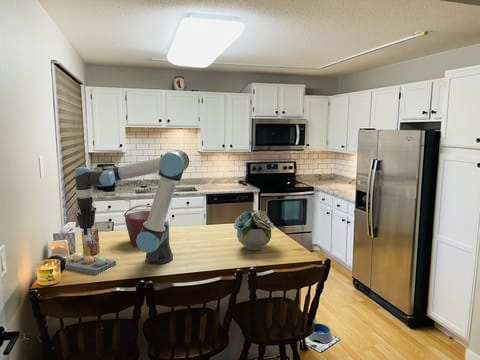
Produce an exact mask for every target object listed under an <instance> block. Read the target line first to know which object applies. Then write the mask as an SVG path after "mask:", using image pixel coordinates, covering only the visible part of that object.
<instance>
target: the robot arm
mask: <svg viewBox="0 0 480 360" xmlns="http://www.w3.org/2000/svg"><path fill="white" fill-rule="evenodd" d="M189 165H190V158H189V155H188V154H187V153H186V152H185V151H183V150H179V149H177V150H172V151H168V152H166V153H164V154H163V155H162V156H161V157H157V158H152V159H148V160H143V161H139V162H133V163H130V164H125V165H121V166H115V167H111V168H109V169H104V170H100V171H95V170H94V171H92V170H91V168H90V167H87V166H83V167H82V166H80V167H76V168H75V169H74V180H75V193H76V204H77V209H78V210H77V211H75V212H74V215H75V217H76V220H77V223H78V227H79V229H82V231H84V235H85V241H90V240H91V228H93V227H94V226H95V217H96V211H97V207H95V206H93V204H94V203H93V201H94V199H93V189H92V188H93V187H95V186H98V187H110V186H114V184H115V182H118V181H124V180H128V179H132V178H133V179H134V178H138V177H143V176H147V175H152V174H156V173H158V174H157V175H158V176H159V181H158V184H157V188H156V191H155V194H154V197H153V200H152V204H151V205H152V207H150V210H149V211H150V214H149V217H148V220H147V221H146V222H144V223H143V226H142V230H141V233H140V234H139V235H138V236H137V239H136V244H137V246H138V247H137V246H136V247H137V248H138V249H139V250H140V251H142V252H143V253H146V254H145V262H146V263H147V264H152V265H164V264H168V263H169V262H171V261H173V259H174V254H173V252H172V249H171V246H170V223H169V220H168V219H166V218H167V217H168V212H169V209H170V207H171V206H170V205H171V202H172V199H173V196H174V193H175V189H176V186H177V183H178V182H181V181H182V177H183V174H184V171H186V169H187V168H188V167H189Z"/></svg>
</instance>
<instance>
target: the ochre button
mask: <svg viewBox="0 0 480 360" xmlns="http://www.w3.org/2000/svg"><path fill="white" fill-rule="evenodd" d="M71 255H72V259H73V262H76V263H78V262H80V261H83V256H82V255H83V251H76V252H73V253H72V254H71Z"/></svg>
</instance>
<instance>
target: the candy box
mask: <svg viewBox="0 0 480 360" xmlns="http://www.w3.org/2000/svg"><path fill="white" fill-rule="evenodd" d="M81 240H82V241H81V243H82V250H83V251H82V255H87V256H93V257H94V256H95V255H98V254H100V253H101V250H100V249H101V248H100V238H99V228H98V227H92V228H91V240H90V241H85V235H84V231H83V230H82V231H81Z"/></svg>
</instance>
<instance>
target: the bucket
mask: <svg viewBox="0 0 480 360" xmlns="http://www.w3.org/2000/svg"><path fill="white" fill-rule="evenodd" d="M141 207H142V208H143V207H148V208H151V207H152V204H138V205H135V206H133V207H131V208H129V209H127V210H126V211H125V212H124V214H123V217H125V218H124V219H125V220H124V222H125V226H126V229H127V233H128V236H129V242H130V245H131V246H133V247H137V248H139V247H138V246H137V244H136V239H137V236H138V235H139V234H140V233H141V230H142V226H143V223H144V222H146V221H147V220H148V217H149V214H150V210H140V211H133V212H130V211H132V210H134V209H136V208H141ZM128 212H129V213H128Z"/></svg>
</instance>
